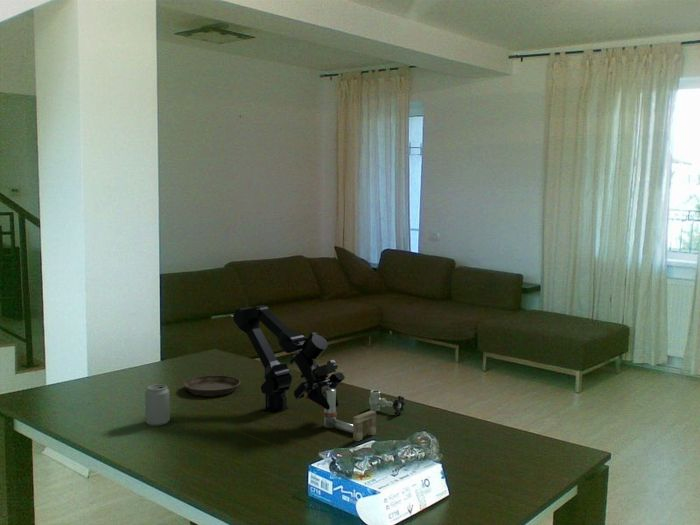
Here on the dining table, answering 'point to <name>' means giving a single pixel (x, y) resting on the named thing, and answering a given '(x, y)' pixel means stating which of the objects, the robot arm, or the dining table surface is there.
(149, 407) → the can
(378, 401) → the valve
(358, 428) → the beige arch block
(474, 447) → the dining table surface
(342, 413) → the dining table surface
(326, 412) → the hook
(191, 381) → the plant saucer
